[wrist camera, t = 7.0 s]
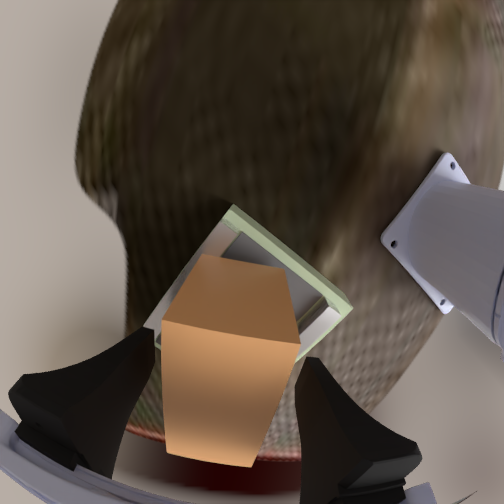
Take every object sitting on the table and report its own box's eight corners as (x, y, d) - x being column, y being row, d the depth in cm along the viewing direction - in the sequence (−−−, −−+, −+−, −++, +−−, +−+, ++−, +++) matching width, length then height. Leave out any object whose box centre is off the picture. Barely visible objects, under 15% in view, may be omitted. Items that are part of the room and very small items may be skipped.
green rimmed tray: (344, 293, 17) (359, 318, 14) (248, 382, 19) (246, 413, 16) (233, 203, 15) (226, 212, 12) (148, 318, 18) (131, 344, 15)
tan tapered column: (284, 268, 13) (301, 344, 7) (252, 392, 16) (248, 471, 10) (201, 254, 13) (161, 319, 7) (189, 381, 16) (167, 457, 10)
